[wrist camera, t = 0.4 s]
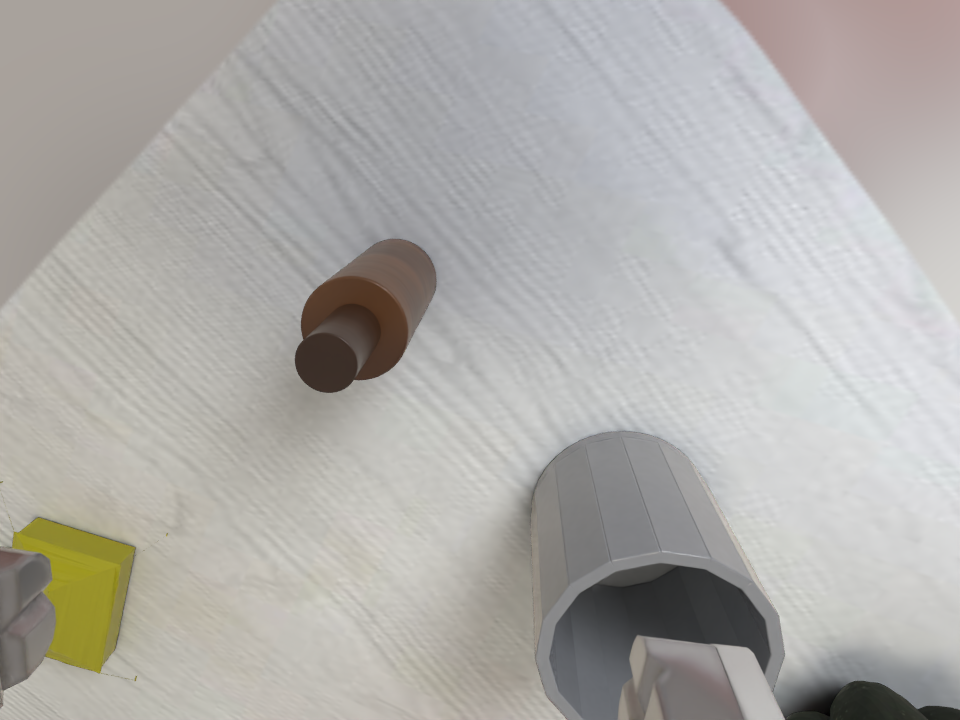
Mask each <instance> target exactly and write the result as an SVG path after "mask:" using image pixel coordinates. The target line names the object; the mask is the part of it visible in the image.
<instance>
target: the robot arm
mask: <svg viewBox="0 0 960 720" xmlns="http://www.w3.org/2000/svg"><path fill="white" fill-rule="evenodd" d="M52 580H53V579H52V572H51V564H50V559H49V558H47V557H46V556H44V555H43V554H41V553H38V552H32V551H25V550H19V549H13V548H7V547H1V546H0V708H1V707H2V706H3V691H4V690H6V689H8V688H10V687H12V686H14V685H16V684H18V683H20V682H22V681H24V680H26V679H28V677H29V676H30V675H31V674H32V673H33V672H34V671H35V669H36V668H37V667H38V666H39V665H40V664H41V662H42V661H43V659H44V657H45V655H46V653H47V651H48V649H49V647H50V645H51V643H52V641H53V636H54V631H55V625H56V614H55V606H54V605H53V604H52V603H51V601H50V600H49V599H48V598H47V596H46V595H45V594H44V593H43V591H44V590H45V588H46V587H47V586H48V585H49V583H50V582H51V581H52ZM629 661H630V665H631V670H632V675H633V677H632V678H631V679H630V680H629V681H627V682H626V683H625V684H624V685H623V687H622V692H621V697H620V702H619V709H618V720H785V718H784V716H783V714H782V712H781V710H780V708H779V706H778V703H777V701H776V699H775V697H774V695H773V693H772V691H771V689H770V687H769V684H768V682H767V680H766V678H765V676H764V674H763V672H762V670H761V668H760V666H759V663H758V661H757V659H756V657H755V655H754V653H753V652H752V651H751V650H750V649H748V648H747V647H738V646H729V645H720V644H710V645H708V644H702V643H694V642H687V641H679V640H672V639H664V638H656V637H649V636H641V635H637V637H636V638H635V640H634V642H633V645H632V649H631V653H630V657H629Z"/></svg>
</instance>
